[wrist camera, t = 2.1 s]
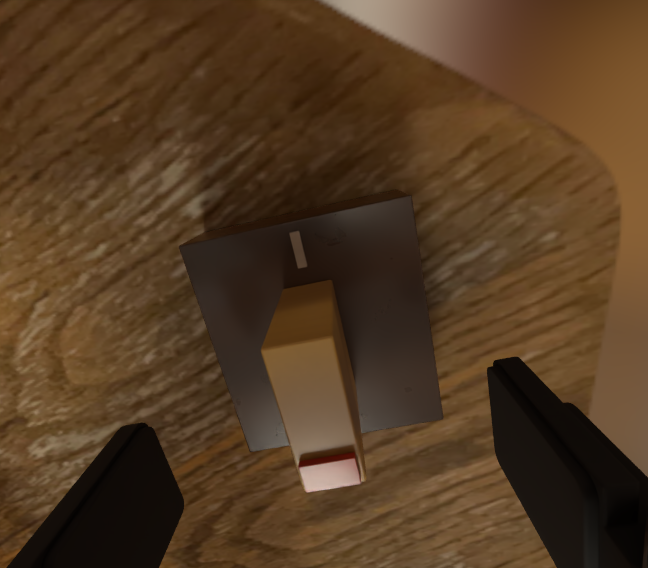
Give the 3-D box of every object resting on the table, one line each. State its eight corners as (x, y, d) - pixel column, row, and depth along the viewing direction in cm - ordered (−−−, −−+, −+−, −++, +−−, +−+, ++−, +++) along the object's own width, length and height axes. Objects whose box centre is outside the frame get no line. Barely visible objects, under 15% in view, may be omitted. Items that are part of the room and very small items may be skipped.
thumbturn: (282, 289, 15) (257, 354, 10) (331, 278, 14) (333, 339, 9) (310, 395, 16) (302, 499, 11) (355, 386, 16) (368, 488, 11)
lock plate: (203, 232, 17) (176, 247, 14) (397, 189, 16) (412, 195, 13) (261, 411, 20) (249, 455, 17) (426, 381, 19) (445, 422, 16)
